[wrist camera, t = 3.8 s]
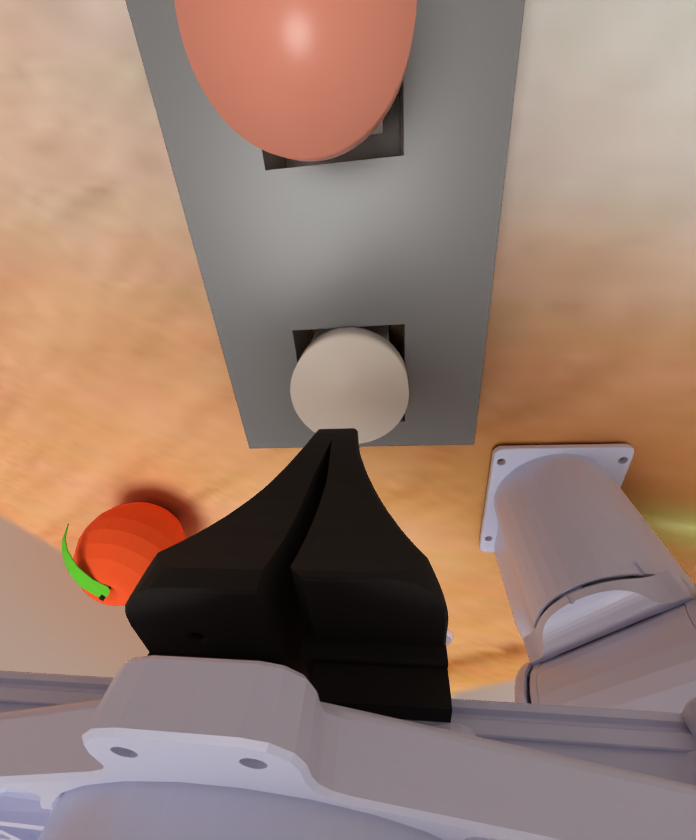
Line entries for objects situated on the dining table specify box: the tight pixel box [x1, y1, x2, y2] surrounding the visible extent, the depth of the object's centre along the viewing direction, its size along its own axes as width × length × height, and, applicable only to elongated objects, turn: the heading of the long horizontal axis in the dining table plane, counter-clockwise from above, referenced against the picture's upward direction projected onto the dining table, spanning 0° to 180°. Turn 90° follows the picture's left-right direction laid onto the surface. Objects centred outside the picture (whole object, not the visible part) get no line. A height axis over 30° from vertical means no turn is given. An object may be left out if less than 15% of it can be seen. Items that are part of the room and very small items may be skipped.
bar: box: [126, 0, 525, 448], centre depth 16 cm, size 19×12×4 cm, turn 5°
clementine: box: [62, 502, 186, 606], centre depth 26 cm, size 8×7×7 cm
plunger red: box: [174, 0, 417, 162], centre depth 10 cm, size 5×5×5 cm
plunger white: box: [290, 325, 409, 444], centre depth 18 cm, size 5×5×5 cm
